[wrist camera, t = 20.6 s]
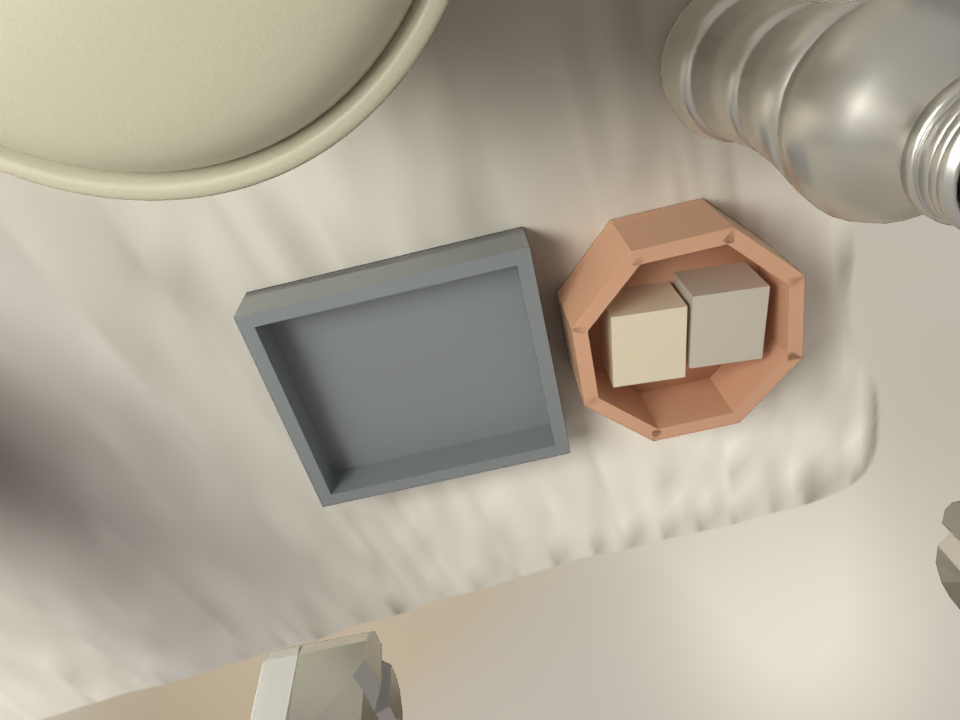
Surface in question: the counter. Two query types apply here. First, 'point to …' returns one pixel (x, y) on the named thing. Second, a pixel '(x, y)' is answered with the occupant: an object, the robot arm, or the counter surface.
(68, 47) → the canister
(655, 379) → the tan block
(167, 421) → the counter surface
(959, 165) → the silver metal bottle
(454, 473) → the slate tray
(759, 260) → the terracotta bowl
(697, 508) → the counter surface
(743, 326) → the cream matte cube
